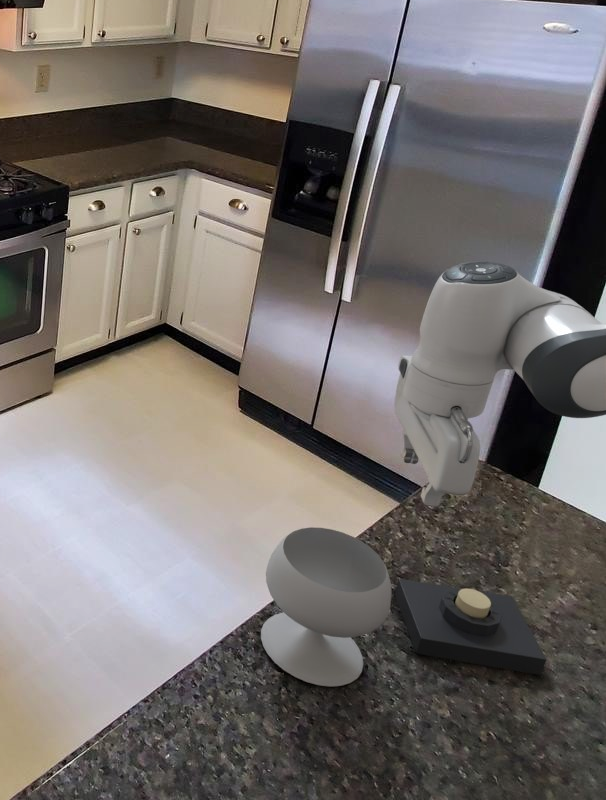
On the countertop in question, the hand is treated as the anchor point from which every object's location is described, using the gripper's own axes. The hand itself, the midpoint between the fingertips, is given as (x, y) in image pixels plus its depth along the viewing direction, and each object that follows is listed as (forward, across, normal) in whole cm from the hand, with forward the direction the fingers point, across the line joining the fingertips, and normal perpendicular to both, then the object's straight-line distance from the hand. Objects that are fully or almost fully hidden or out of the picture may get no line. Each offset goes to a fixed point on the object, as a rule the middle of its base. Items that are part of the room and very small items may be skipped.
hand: (418, 480), depth 104 cm
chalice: (+19, -14, +12) cm, 26 cm away
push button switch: (+14, -6, -8) cm, 18 cm away
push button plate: (+19, -6, -8) cm, 21 cm away
